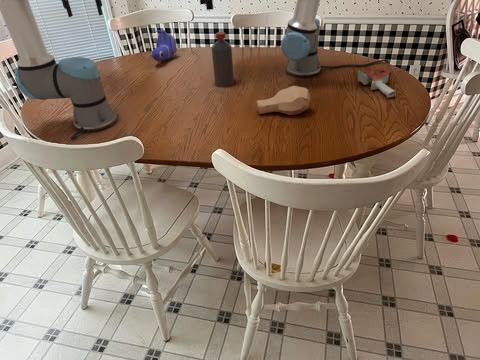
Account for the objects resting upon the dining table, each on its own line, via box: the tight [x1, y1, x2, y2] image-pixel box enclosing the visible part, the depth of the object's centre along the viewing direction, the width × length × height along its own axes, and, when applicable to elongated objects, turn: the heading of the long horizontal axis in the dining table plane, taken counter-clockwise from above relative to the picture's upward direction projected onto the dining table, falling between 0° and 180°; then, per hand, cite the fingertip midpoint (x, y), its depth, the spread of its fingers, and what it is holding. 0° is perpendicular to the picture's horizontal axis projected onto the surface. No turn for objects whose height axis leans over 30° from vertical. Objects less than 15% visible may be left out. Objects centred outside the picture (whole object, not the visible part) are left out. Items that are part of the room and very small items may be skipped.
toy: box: [150, 29, 178, 66], centre depth 185 cm, size 10×17×25 cm
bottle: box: [211, 38, 235, 88], centre depth 153 cm, size 8×8×21 cm
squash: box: [255, 85, 312, 116], centre depth 130 cm, size 11×20×9 cm, turn 92°
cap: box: [215, 31, 226, 40], centre depth 147 cm, size 4×4×2 cm
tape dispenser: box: [357, 66, 396, 99], centre depth 144 cm, size 18×5×20 cm
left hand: (85, 15), depth 157 cm, fingers open, 13 cm apart
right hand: (206, 6), depth 151 cm, fingers open, 13 cm apart
